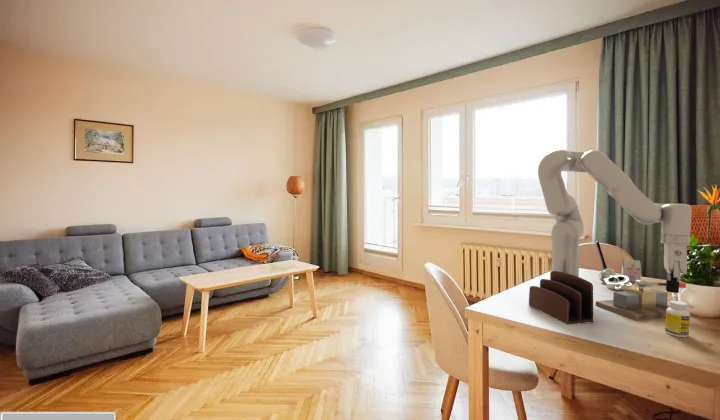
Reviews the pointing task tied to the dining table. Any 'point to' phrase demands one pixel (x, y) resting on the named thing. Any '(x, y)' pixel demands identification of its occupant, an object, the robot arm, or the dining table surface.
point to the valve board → (635, 311)
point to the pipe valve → (639, 298)
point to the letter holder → (564, 298)
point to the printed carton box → (631, 270)
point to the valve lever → (656, 283)
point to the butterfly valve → (612, 275)
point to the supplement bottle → (677, 319)
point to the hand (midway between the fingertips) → (672, 291)
